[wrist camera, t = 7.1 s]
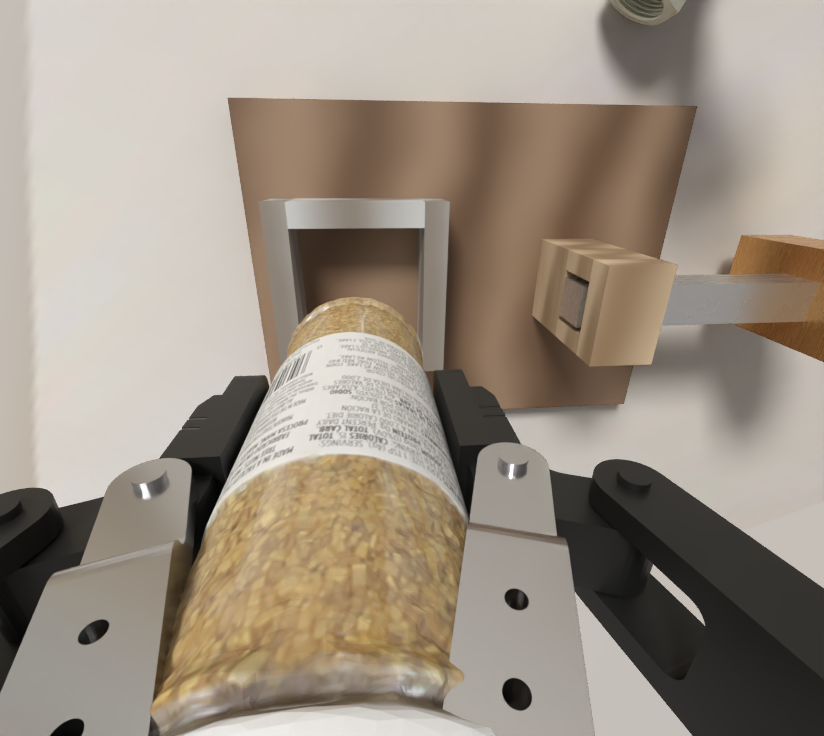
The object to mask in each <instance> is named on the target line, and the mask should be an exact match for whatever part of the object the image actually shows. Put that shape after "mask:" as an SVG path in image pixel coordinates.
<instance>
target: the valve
mask: <svg viewBox="0 0 824 736" xmlns="http://www.w3.org/2000/svg"><path fill="white" fill-rule="evenodd" d="M609 1H610V2H611V4H612V5H613V7H614V8H615V9H616V10H617V11H618V12H619V13H621V14H622V15H623V16H625V17H626V18H628V19H630V20H632V21H634V22H637V23H640V24H644V25H653V26H654V25H659V24H661V23H664V22H665V21H667V20H669V19H670V18H672V17H673V16H675V15H676V14H677V13H679V11H680V9H681V8H682V6H683V5H684V3H685V2H686V0H609Z"/></svg>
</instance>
